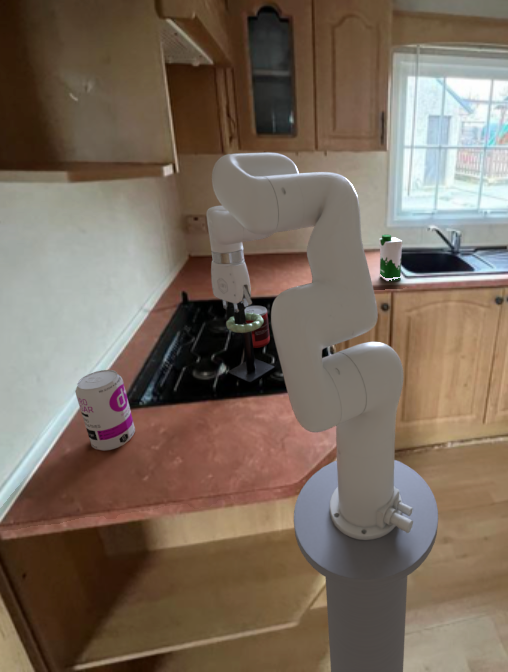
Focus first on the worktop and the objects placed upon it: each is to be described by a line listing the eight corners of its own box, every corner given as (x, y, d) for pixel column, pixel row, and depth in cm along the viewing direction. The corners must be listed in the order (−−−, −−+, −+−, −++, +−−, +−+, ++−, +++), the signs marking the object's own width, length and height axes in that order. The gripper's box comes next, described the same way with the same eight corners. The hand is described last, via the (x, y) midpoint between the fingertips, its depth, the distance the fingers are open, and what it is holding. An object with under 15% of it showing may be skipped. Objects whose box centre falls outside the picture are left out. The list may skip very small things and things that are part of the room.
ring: (270, 323, 109) (270, 316, 108) (243, 337, 101) (242, 330, 101) (246, 315, 113) (246, 308, 113) (219, 328, 106) (218, 321, 105)
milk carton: (377, 276, 187) (377, 233, 180) (395, 274, 190) (396, 232, 183) (385, 283, 179) (385, 238, 172) (403, 280, 182) (405, 236, 175)
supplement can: (143, 426, 92) (129, 368, 87) (121, 453, 84) (104, 391, 79) (107, 425, 92) (91, 367, 87) (82, 452, 84) (63, 390, 79)
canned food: (248, 336, 132) (244, 305, 128) (272, 337, 132) (269, 305, 128) (240, 348, 125) (236, 315, 121) (266, 348, 125) (263, 315, 121)
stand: (275, 370, 113) (271, 327, 109) (250, 386, 106) (244, 340, 102) (252, 361, 118) (248, 319, 113) (227, 375, 111) (221, 331, 106)
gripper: (195, 254, 104) (205, 320, 110) (238, 265, 95) (246, 335, 102) (219, 248, 110) (228, 311, 116) (262, 257, 101) (268, 324, 108)
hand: (236, 322), depth 109 cm, fingers closed on ring, 2 cm apart
